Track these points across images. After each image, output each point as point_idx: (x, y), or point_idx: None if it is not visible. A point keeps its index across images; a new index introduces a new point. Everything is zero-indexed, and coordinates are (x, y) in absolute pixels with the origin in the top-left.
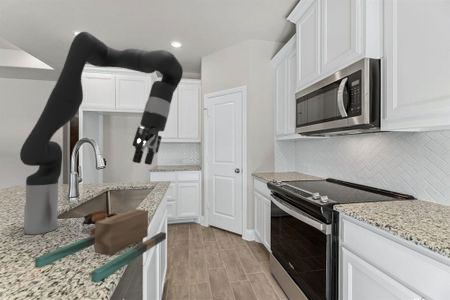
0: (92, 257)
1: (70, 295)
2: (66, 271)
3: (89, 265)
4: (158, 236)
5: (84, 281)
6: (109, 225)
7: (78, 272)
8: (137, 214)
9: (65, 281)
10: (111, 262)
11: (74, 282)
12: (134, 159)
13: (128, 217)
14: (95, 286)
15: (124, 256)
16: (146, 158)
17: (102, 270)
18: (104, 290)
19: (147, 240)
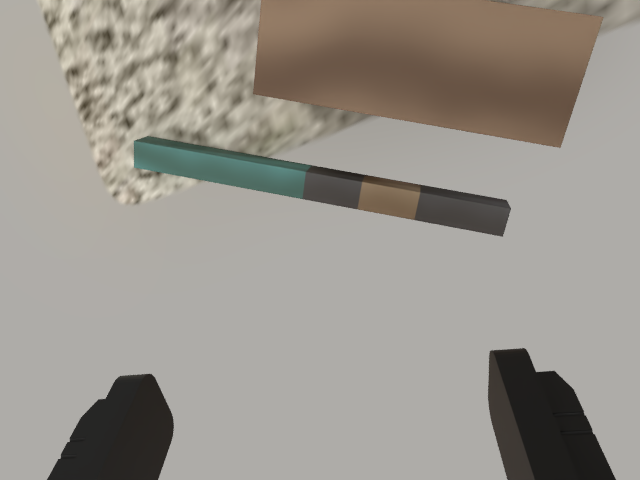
0: None
1: (85, 133)
2: (159, 9)
3: (212, 58)
4: (449, 220)
5: (138, 119)
6: (255, 82)
7: (167, 58)
8: (457, 125)
9: (120, 62)
10: (195, 164)
11: (125, 94)
12: (96, 416)
13: (385, 108)
14: (132, 168)
15: (242, 182)
16: (510, 419)
17: (149, 169)
18: (128, 203)
19: (394, 193)
